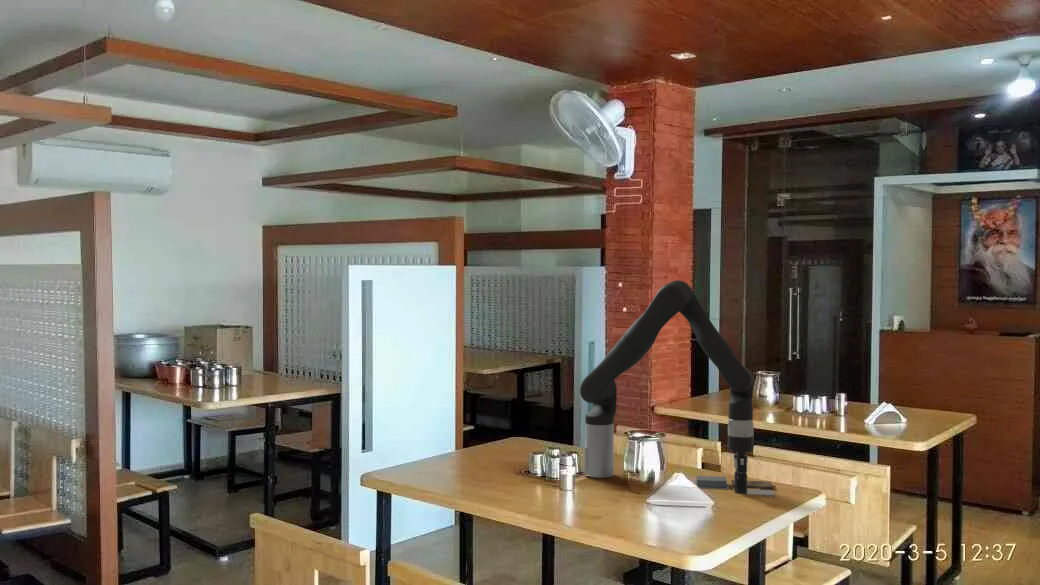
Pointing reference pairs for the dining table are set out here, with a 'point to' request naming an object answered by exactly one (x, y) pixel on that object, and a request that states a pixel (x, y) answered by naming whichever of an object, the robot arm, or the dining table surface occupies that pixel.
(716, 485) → the tile
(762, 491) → the turner
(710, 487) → the mat
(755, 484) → the rest board
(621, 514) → the dining table surface
